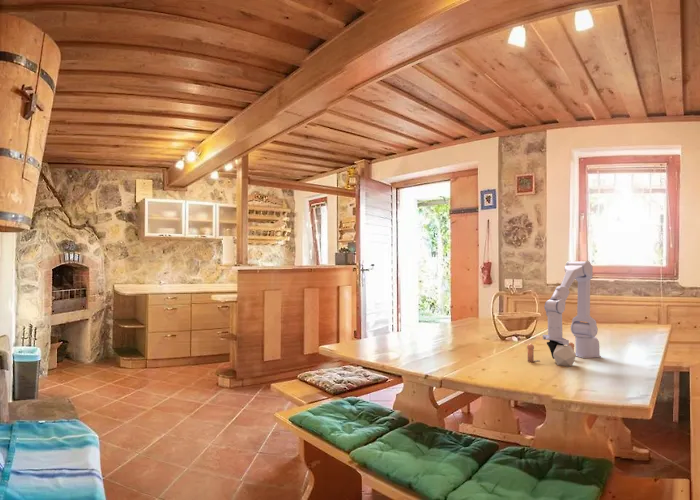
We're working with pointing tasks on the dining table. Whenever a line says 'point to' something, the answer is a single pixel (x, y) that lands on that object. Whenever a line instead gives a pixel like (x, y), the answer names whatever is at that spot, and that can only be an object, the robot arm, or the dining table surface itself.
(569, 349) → the die
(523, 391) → the dining table surface
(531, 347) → the pair of orange pieces
